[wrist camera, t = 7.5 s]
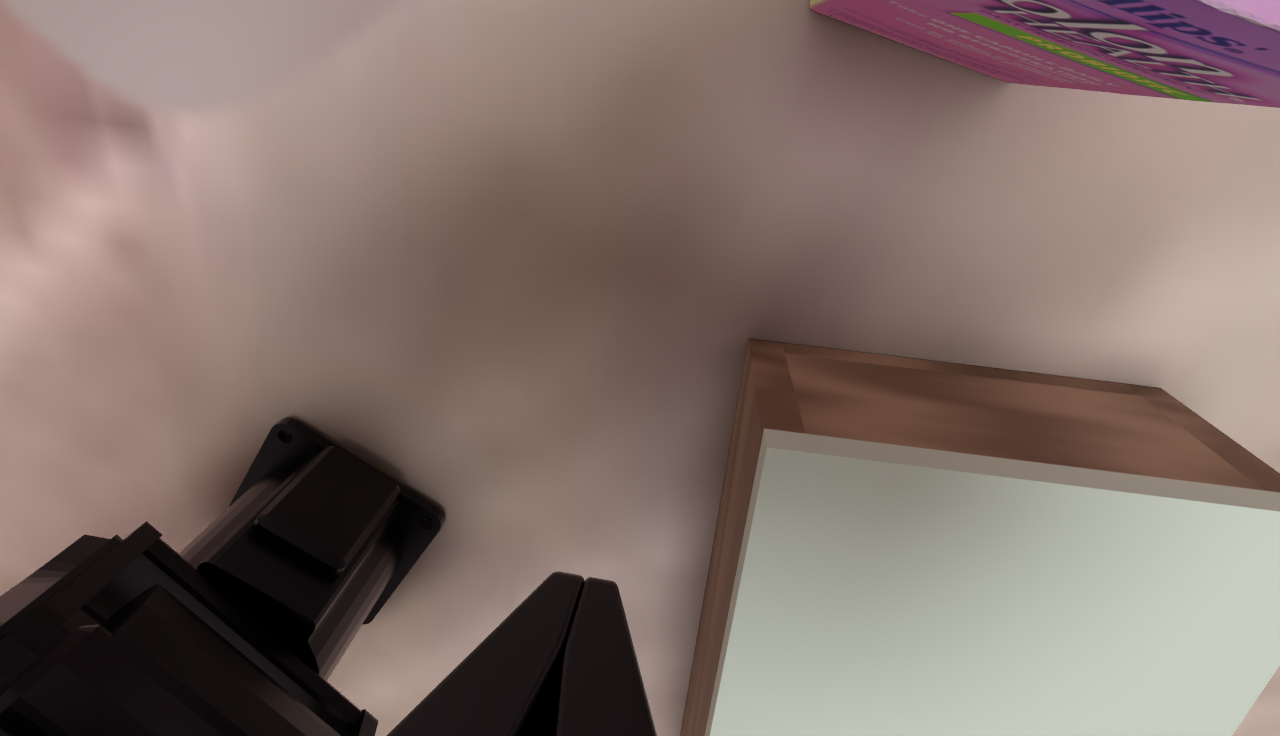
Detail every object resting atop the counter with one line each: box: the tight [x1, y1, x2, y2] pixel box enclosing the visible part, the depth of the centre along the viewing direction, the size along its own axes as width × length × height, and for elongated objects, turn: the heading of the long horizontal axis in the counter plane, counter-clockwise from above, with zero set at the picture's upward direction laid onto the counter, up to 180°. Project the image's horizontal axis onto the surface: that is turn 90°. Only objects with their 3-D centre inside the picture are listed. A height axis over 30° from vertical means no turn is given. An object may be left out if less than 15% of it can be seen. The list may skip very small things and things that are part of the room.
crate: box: [680, 339, 1280, 736], centre depth 21 cm, size 12×18×6 cm, turn 175°
